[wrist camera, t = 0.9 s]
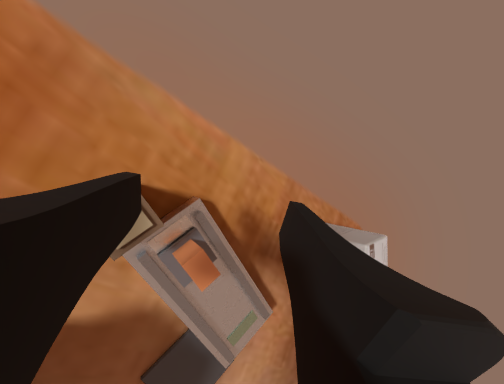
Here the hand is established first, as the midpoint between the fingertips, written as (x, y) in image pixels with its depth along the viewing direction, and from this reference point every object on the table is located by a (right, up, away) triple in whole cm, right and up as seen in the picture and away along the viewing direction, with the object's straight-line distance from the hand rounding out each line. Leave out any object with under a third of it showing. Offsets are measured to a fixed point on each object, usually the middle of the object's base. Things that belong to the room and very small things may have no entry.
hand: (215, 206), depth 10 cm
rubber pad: (-5, -19, +13) cm, 24 cm away
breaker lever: (-4, -5, +10) cm, 12 cm away
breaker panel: (-3, -9, +14) cm, 17 cm away
